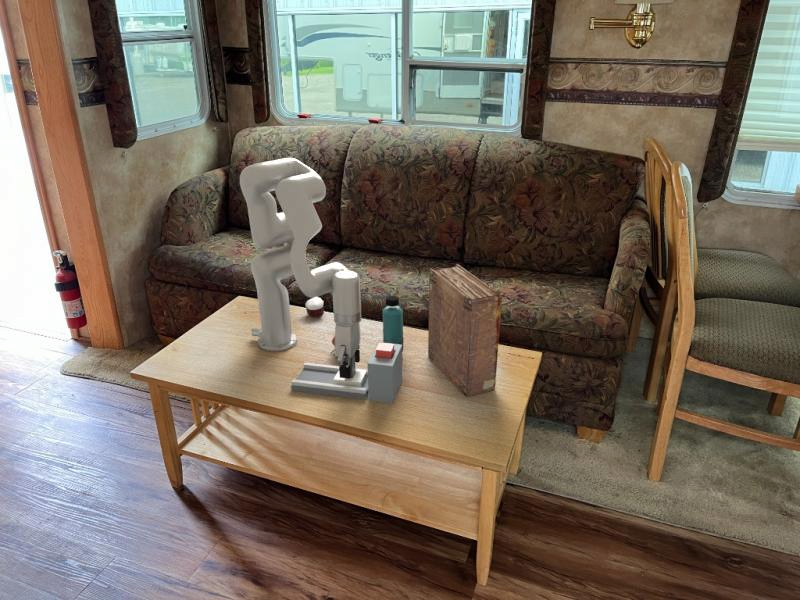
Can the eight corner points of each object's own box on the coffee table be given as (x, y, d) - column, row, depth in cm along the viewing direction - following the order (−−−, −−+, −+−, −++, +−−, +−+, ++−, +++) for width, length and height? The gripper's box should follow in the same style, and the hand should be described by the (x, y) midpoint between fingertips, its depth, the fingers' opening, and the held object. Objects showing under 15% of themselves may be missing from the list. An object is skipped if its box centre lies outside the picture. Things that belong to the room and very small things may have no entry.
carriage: (333, 385, 178) (332, 357, 174) (340, 373, 183) (339, 346, 179) (360, 388, 176) (359, 360, 172) (366, 376, 182) (365, 349, 178)
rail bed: (291, 390, 178) (290, 382, 177) (306, 369, 189) (305, 361, 188) (365, 399, 174) (364, 391, 173) (376, 377, 184) (375, 369, 183)
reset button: (376, 362, 172) (375, 349, 171) (379, 354, 176) (379, 342, 174) (390, 363, 172) (390, 351, 170) (394, 356, 175) (394, 343, 174)
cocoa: (327, 319, 220) (327, 288, 215) (310, 322, 218) (309, 291, 212) (318, 307, 228) (317, 277, 223) (301, 310, 225) (301, 280, 220)
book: (427, 356, 196) (429, 267, 183) (453, 350, 199) (456, 263, 186) (467, 397, 174) (471, 301, 162) (495, 390, 178) (502, 295, 165)
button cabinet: (368, 400, 174) (367, 363, 168) (379, 377, 184) (378, 342, 179) (393, 403, 172) (392, 365, 167) (402, 380, 183) (402, 344, 178)
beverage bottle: (401, 361, 193) (401, 302, 184) (380, 358, 194) (379, 301, 186) (405, 350, 199) (405, 293, 190) (385, 348, 200) (384, 292, 191)
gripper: (343, 300, 179) (346, 353, 186) (324, 328, 164) (327, 384, 171) (369, 303, 177) (370, 355, 185) (351, 331, 162) (354, 387, 169)
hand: (350, 369), depth 178 cm, fingers open, 8 cm apart
